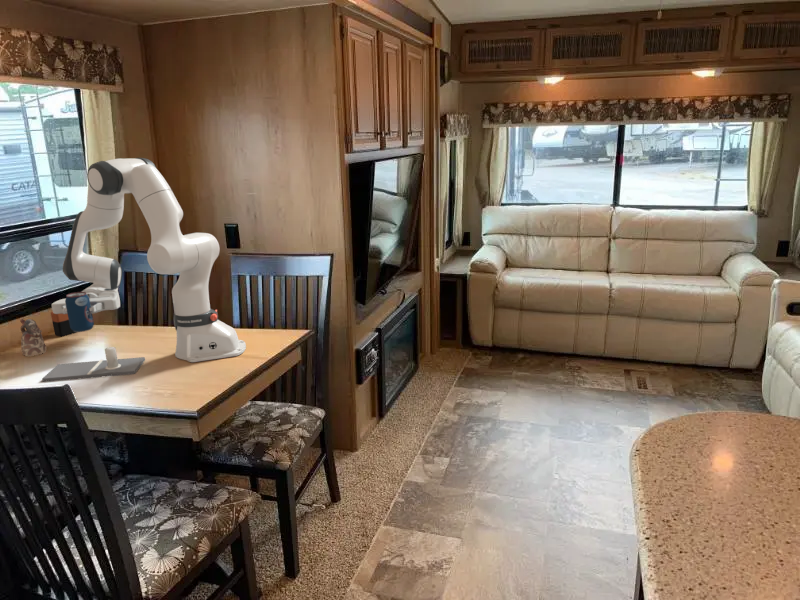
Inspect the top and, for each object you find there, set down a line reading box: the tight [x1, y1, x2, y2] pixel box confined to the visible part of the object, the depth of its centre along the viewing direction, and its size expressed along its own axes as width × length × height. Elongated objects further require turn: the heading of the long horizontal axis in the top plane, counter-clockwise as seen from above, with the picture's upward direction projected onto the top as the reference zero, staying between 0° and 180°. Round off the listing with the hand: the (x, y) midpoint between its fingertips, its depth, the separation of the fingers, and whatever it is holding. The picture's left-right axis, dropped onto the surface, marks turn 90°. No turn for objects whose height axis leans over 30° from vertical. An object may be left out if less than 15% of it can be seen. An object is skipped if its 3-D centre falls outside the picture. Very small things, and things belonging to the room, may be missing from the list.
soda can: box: [65, 291, 95, 333], centre depth 191 cm, size 7×7×12 cm
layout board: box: [41, 346, 146, 383], centre depth 181 cm, size 26×12×7 cm, turn 99°
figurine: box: [20, 318, 48, 357], centre depth 198 cm, size 7×7×12 cm
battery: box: [50, 311, 77, 337], centre depth 218 cm, size 4×7×10 cm, turn 148°
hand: (78, 310), depth 190 cm, fingers closed on soda can, 7 cm apart
